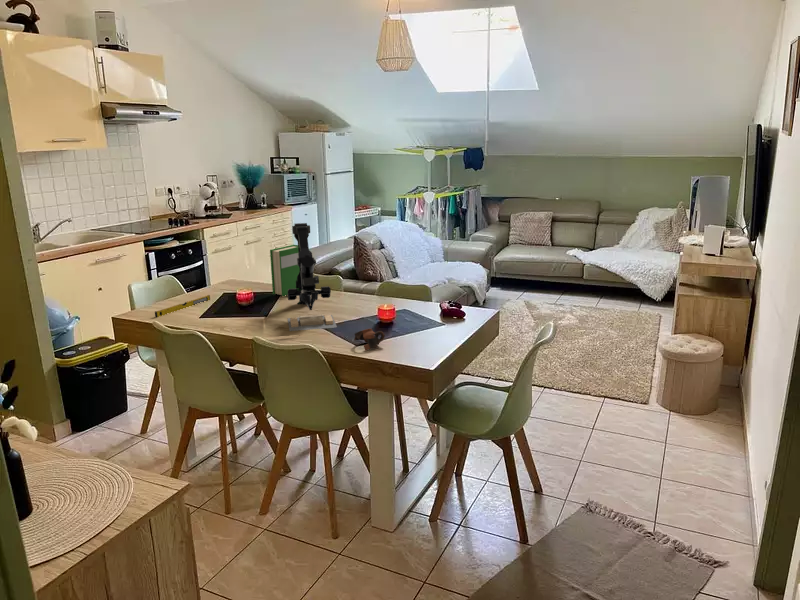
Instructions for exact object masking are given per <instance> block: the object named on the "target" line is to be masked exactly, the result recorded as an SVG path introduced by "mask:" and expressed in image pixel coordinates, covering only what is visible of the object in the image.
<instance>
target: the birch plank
mask: <svg viewBox="0 0 800 600" xmlns="http://www.w3.org/2000/svg"><path fill="white" fill-rule="evenodd" d="M323 316H324V315H323V314H311V315H299V316H298V317H299V321H300V325H301V326H306V325H319V324H324V319H323Z"/></svg>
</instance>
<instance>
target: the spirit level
mask: <svg viewBox="0 0 800 600" xmlns="http://www.w3.org/2000/svg"><path fill="white" fill-rule="evenodd" d="M208 300H210V301H211V295H210V294H207V295H205V296H202V297H201V296H200V297H197V298H195V299H191V300H189V301H185V302H184V303H179V304H176V305H173V306H172V305H171V306H168V307H166V308H161V309H159V310H156V311H155V310H154V318H160V317H163V316H165V314H166V315H168V314H167V313H169V314H172V313H175V312H178V311H177V310H179V311H181V310H180V309H182V310H184V309H183V308H185V309H187V308H186V307H188V308H190V307H189V306H191V307H193V306H192V305H194V306H196V305H195V304H197V303H200V302H203V303H205V302H204V301H206V302H209V301H208ZM200 304H201V303H200ZM197 305H198V304H197ZM174 311H175V312H174ZM171 312H172V313H171ZM162 315H163V316H162ZM159 316H160V317H159Z"/></svg>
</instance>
